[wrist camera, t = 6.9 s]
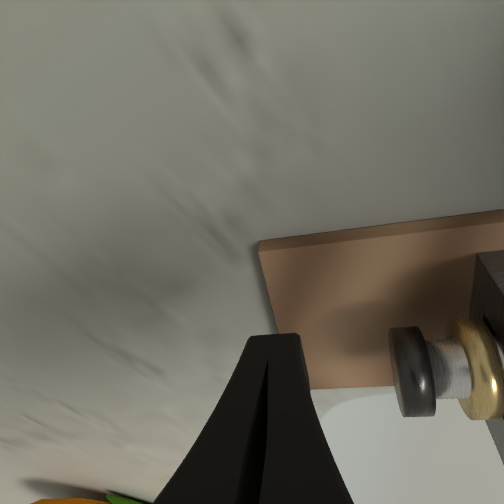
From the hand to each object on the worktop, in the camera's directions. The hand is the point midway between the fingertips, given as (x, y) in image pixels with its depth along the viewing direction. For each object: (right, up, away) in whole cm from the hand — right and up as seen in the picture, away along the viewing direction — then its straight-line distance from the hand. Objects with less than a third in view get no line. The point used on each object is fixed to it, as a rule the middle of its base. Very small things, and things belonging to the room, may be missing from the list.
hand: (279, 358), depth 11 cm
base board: (+9, 0, +10) cm, 14 cm away
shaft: (+12, -1, +8) cm, 14 cm away
